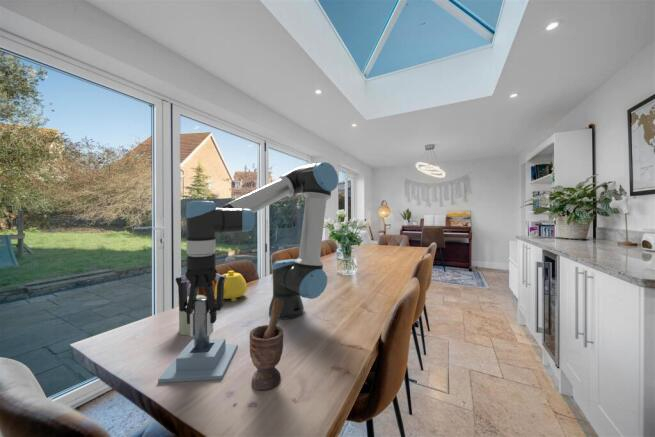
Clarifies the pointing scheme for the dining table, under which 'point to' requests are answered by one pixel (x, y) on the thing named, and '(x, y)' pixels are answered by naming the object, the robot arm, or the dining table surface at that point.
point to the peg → (201, 324)
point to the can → (185, 320)
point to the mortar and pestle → (267, 350)
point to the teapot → (233, 286)
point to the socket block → (200, 362)
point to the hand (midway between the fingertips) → (201, 333)
